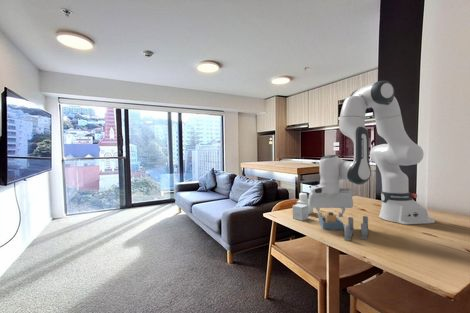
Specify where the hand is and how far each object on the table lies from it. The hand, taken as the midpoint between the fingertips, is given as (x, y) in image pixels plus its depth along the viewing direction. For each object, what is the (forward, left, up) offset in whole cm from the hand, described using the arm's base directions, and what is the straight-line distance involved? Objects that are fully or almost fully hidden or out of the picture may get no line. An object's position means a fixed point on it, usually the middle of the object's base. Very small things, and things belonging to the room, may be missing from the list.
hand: (330, 216), depth 107 cm
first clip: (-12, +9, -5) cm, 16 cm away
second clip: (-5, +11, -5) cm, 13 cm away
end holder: (0, 0, -5) cm, 5 cm away
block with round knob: (0, 0, -4) cm, 4 cm away
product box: (+13, -11, -5) cm, 18 cm away
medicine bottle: (+9, -22, -5) cm, 24 cm away
